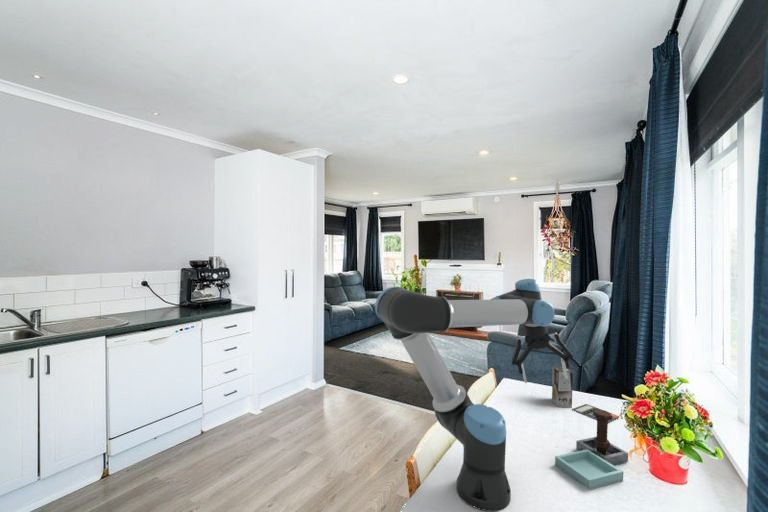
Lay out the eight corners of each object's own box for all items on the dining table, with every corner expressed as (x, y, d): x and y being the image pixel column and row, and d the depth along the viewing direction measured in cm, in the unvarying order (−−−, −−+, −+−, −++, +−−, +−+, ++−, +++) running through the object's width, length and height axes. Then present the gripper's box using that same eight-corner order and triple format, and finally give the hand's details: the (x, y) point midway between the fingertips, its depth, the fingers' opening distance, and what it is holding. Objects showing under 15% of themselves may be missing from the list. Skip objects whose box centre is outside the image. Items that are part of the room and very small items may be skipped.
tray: (589, 489, 108) (589, 480, 108) (554, 464, 120) (555, 456, 120) (623, 480, 112) (623, 471, 112) (587, 457, 124) (587, 449, 124)
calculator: (606, 422, 149) (571, 408, 162) (606, 425, 149) (571, 410, 162) (621, 416, 155) (586, 403, 168) (621, 418, 155) (586, 405, 168)
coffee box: (572, 408, 164) (573, 372, 163) (557, 406, 165) (558, 371, 164) (565, 399, 173) (566, 366, 172) (551, 398, 174) (552, 365, 174)
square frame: (605, 467, 119) (605, 458, 119) (576, 449, 130) (576, 440, 130) (627, 461, 122) (628, 452, 122) (597, 444, 133) (598, 436, 133)
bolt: (612, 461, 123) (614, 417, 122) (596, 459, 124) (597, 415, 123) (606, 451, 128) (607, 409, 128) (590, 449, 129) (591, 408, 129)
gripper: (570, 313, 127) (580, 370, 130) (497, 324, 134) (508, 377, 136) (575, 321, 120) (586, 380, 122) (498, 331, 127) (510, 388, 129)
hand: (545, 379), depth 129 cm, fingers open, 13 cm apart
